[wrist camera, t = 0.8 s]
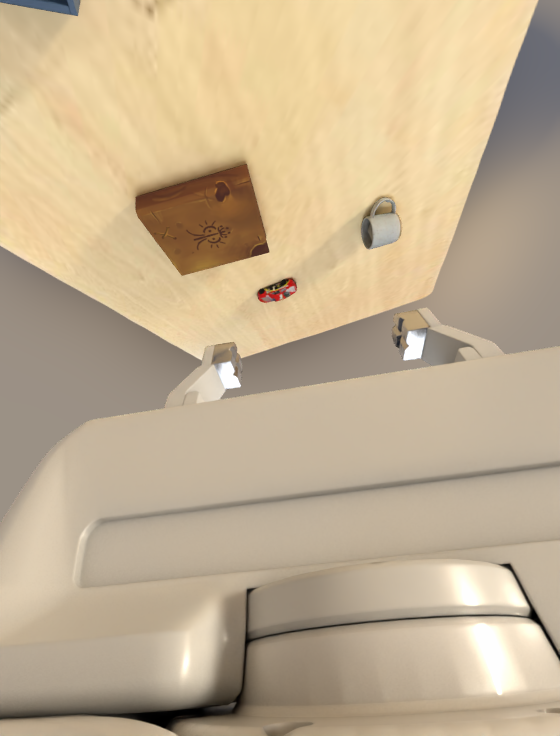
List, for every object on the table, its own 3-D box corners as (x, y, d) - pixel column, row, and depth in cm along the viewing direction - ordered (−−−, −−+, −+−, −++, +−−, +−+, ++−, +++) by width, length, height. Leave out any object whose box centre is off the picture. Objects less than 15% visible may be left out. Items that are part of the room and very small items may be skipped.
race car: (260, 299, 97) (262, 309, 96) (254, 290, 92) (256, 301, 91) (297, 285, 94) (299, 295, 92) (292, 276, 89) (295, 286, 88)
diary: (245, 160, 55) (250, 180, 53) (265, 235, 73) (269, 252, 70) (135, 193, 57) (135, 214, 55) (180, 258, 75) (181, 276, 72)
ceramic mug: (388, 228, 78) (398, 249, 75) (359, 234, 78) (367, 255, 75) (400, 191, 68) (411, 214, 66) (366, 199, 69) (376, 221, 66)
